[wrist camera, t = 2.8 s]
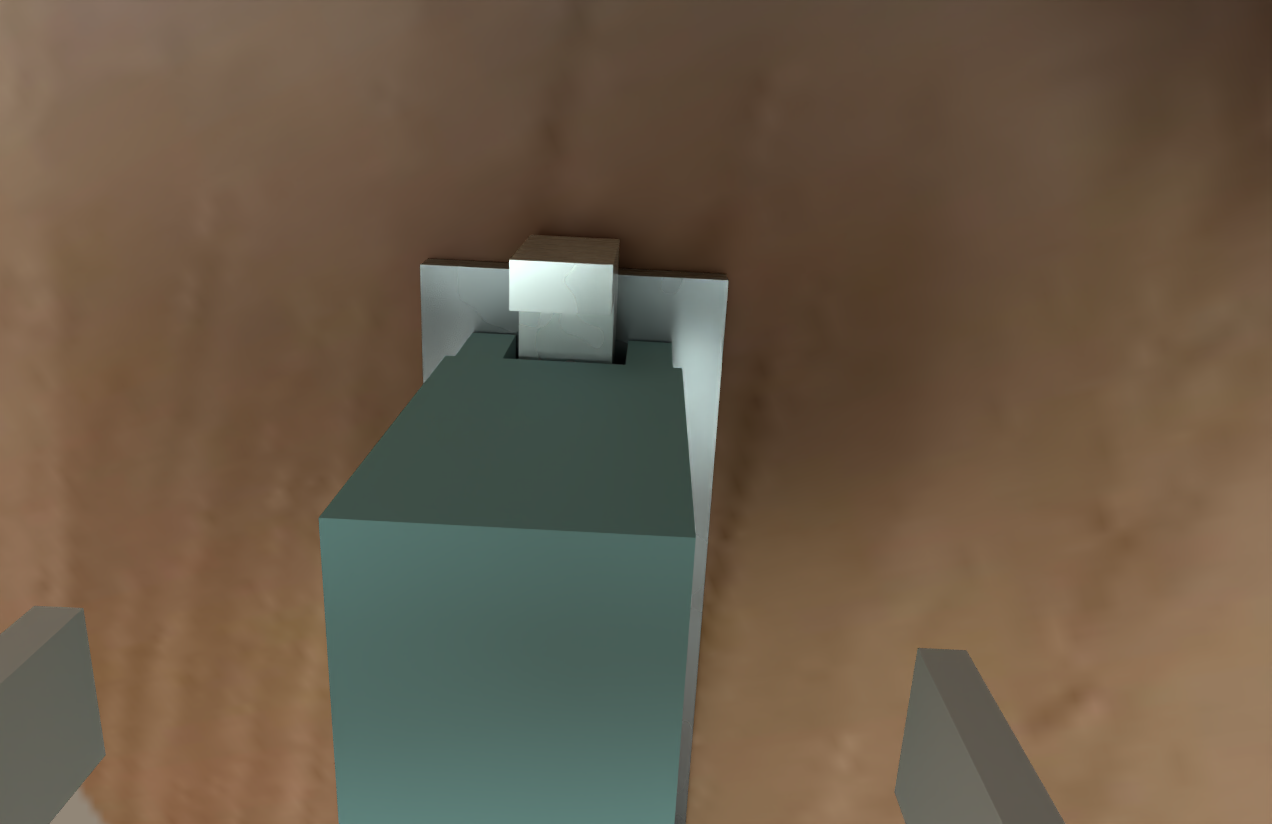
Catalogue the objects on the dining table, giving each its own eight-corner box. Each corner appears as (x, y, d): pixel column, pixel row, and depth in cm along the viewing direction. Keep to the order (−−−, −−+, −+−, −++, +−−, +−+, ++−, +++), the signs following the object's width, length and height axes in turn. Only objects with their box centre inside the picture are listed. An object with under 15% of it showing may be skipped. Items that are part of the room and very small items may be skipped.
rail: (427, 224, 22) (379, 253, 19) (729, 239, 22) (742, 271, 18) (443, 937, 29) (412, 1064, 26) (673, 950, 29) (675, 1079, 26)
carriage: (463, 331, 22) (318, 517, 13) (680, 343, 22) (695, 537, 13) (466, 599, 24) (345, 925, 15) (663, 609, 24) (665, 942, 15)
